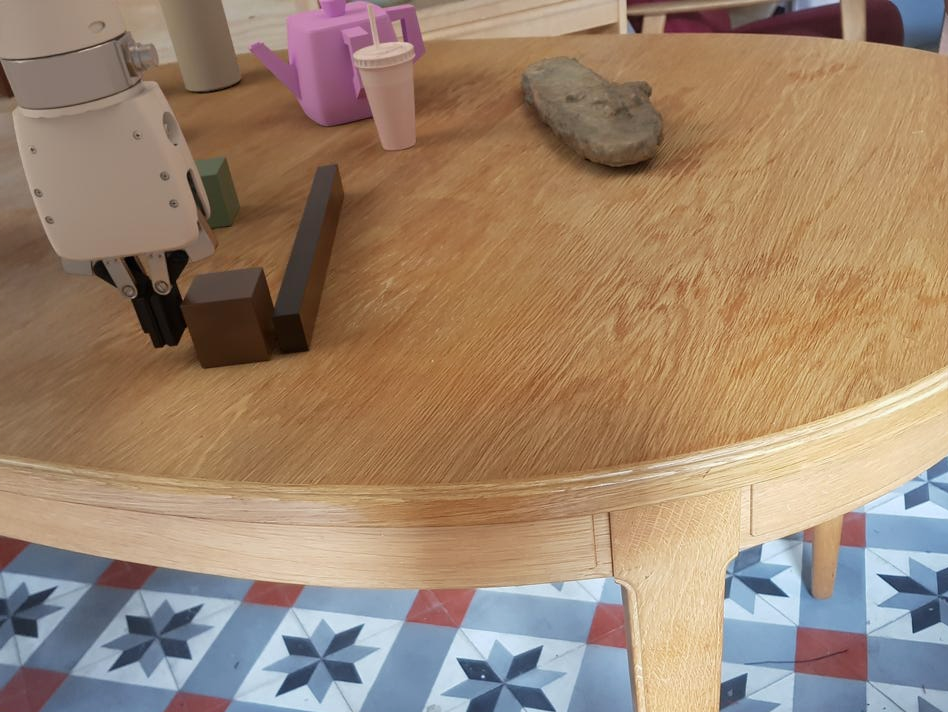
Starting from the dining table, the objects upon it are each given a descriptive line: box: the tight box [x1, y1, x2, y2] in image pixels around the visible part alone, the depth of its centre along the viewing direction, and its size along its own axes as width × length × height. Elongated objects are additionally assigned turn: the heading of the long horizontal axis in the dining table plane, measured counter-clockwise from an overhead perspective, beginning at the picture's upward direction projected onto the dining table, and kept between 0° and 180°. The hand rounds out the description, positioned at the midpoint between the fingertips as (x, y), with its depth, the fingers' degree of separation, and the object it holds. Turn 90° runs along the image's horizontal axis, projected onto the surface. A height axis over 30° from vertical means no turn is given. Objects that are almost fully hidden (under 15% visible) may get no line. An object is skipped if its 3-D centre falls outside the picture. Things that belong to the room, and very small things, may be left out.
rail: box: [271, 163, 345, 355], centre depth 79 cm, size 2×31×3 cm, turn 2°
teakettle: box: [247, 0, 427, 127], centre depth 114 cm, size 17×17×12 cm
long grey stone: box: [520, 55, 665, 168], centre depth 100 cm, size 35×5×10 cm
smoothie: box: [353, 3, 417, 151], centre depth 99 cm, size 6×6×14 cm
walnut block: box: [180, 266, 277, 369], centre depth 68 cm, size 5×5×5 cm
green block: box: [194, 156, 241, 229], centre depth 90 cm, size 5×5×5 cm
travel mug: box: [159, 0, 242, 93], centre depth 129 cm, size 8×8×18 cm
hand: (171, 337), depth 69 cm, fingers closed
